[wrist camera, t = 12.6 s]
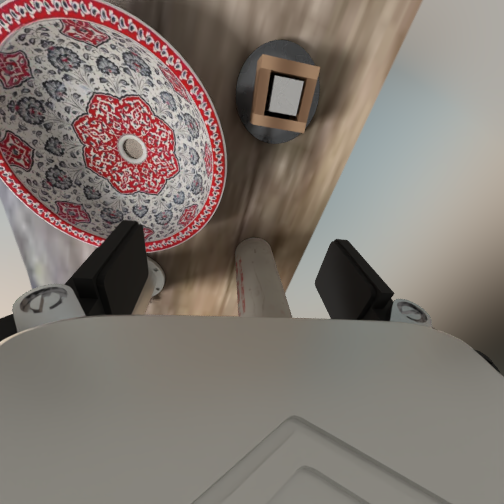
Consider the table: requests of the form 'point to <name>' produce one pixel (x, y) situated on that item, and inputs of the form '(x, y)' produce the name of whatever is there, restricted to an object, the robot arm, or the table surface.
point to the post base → (249, 89)
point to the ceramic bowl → (105, 123)
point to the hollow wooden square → (288, 70)
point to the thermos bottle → (259, 281)
